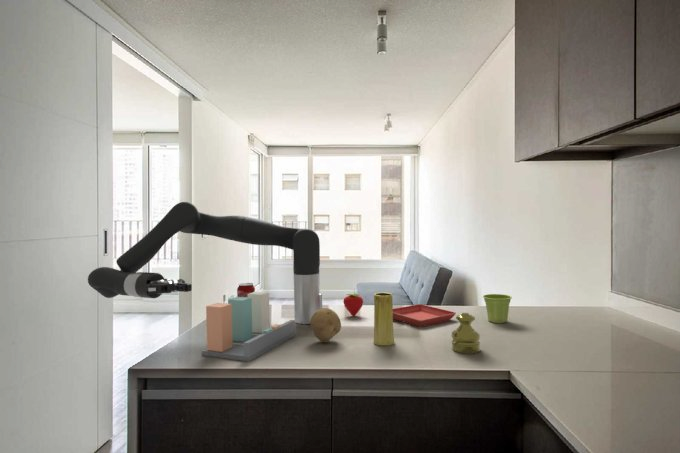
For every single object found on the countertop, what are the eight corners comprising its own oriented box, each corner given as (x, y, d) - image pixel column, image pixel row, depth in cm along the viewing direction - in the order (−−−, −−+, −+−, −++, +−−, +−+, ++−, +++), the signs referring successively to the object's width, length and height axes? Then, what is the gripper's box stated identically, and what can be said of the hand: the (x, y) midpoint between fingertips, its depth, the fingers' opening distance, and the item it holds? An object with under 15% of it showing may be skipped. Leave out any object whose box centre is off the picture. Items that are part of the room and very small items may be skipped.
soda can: (251, 316, 153) (250, 285, 153) (234, 316, 154) (233, 285, 154) (258, 312, 160) (257, 282, 160) (242, 312, 161) (241, 282, 161)
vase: (396, 340, 119) (395, 292, 119) (392, 346, 114) (391, 296, 113) (376, 339, 121) (375, 291, 121) (371, 345, 116) (370, 295, 115)
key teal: (228, 340, 119) (227, 299, 119) (238, 336, 123) (237, 296, 123) (243, 341, 117) (242, 300, 117) (252, 337, 121) (251, 297, 121)
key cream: (248, 331, 127) (247, 293, 127) (256, 328, 132) (255, 291, 131) (261, 333, 125) (261, 294, 125) (269, 329, 130) (268, 292, 129)
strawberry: (344, 313, 155) (344, 287, 155) (364, 314, 154) (363, 288, 154) (342, 317, 149) (341, 290, 149) (362, 317, 148) (362, 290, 148)
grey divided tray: (202, 355, 110) (202, 335, 109) (255, 331, 133) (254, 314, 133) (248, 361, 104) (248, 340, 104) (295, 335, 127) (295, 317, 127)
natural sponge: (327, 335, 126) (326, 303, 126) (347, 341, 120) (347, 307, 120) (304, 342, 120) (304, 308, 120) (325, 348, 113) (324, 313, 113)
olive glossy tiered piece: (476, 356, 105) (476, 317, 105) (448, 351, 109) (447, 314, 109) (483, 348, 111) (482, 311, 111) (456, 344, 115) (455, 309, 115)
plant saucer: (457, 321, 142) (457, 312, 142) (420, 329, 132) (420, 319, 132) (420, 312, 157) (420, 303, 157) (384, 319, 147) (384, 310, 147)
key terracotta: (206, 349, 110) (205, 306, 110) (217, 345, 114) (216, 302, 114) (222, 351, 108) (221, 307, 108) (232, 346, 112) (231, 304, 112)
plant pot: (482, 323, 137) (482, 298, 137) (483, 317, 146) (483, 293, 145) (512, 325, 133) (512, 299, 133) (511, 319, 142) (511, 294, 142)
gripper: (125, 275, 115) (171, 277, 108) (161, 269, 127) (205, 271, 121) (125, 301, 115) (172, 305, 108) (162, 293, 127) (206, 296, 121)
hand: (189, 287), depth 114 cm, fingers closed
